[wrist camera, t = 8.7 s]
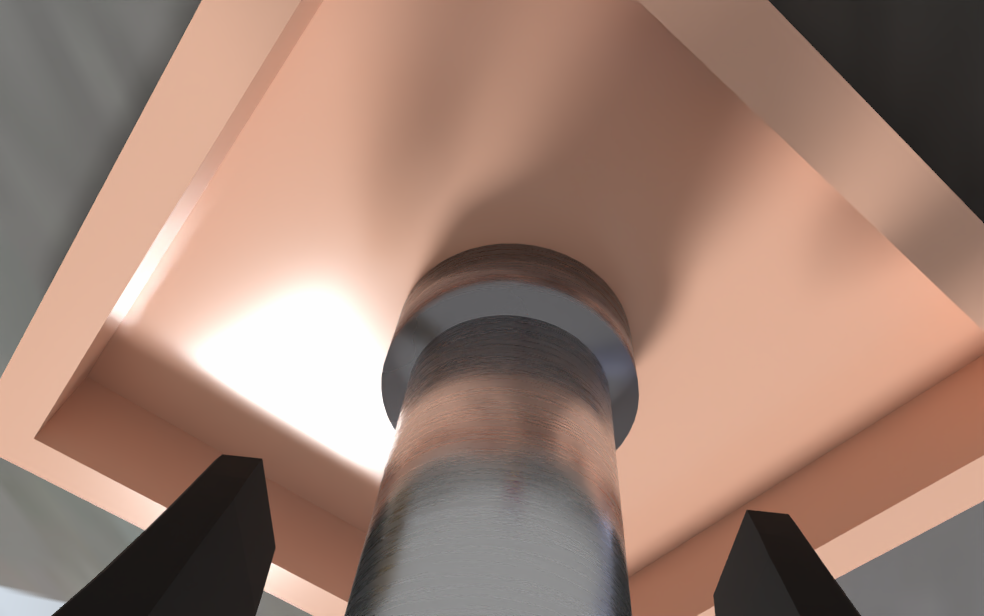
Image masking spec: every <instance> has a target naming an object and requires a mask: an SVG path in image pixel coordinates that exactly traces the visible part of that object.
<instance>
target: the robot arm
mask: <svg viewBox="0 0 984 616" xmlns="http://www.w3.org/2000/svg"><path fill="white" fill-rule="evenodd" d="M275 549H276V546H275V539H274V532H273V526H272V519H271V512H270V506H269V499H268V493H267V486H266V479H265V473H264V466H263V459H262V458H252V457H243V456H233V455H224V454H222V455H221V456H219V457H218V458H217V459H216V460H215V461H214V462H213V463H212V464H211V465H210V466H209V467H208V468H207V469H206V470H205V471H204V472H203V473H202V474H201V475H200V476H199V477H198V478H197V479H196V480H195V481H194V482H193V483H192V484H191V485H190V486H189V487H188V488H187V489H186V490H185V491H184V492H183V493H182V494H181V495H180V496H179V497H178V498H177V499H176V500H175V501H174V502H173V503H172V504H171V505H170V506H169V507H168V508H167V509H166V510H165V511H164V512H163V513H162V514H161V515H160V516H159V517H158V518H157V519H156V520H155V521H154V522H153V523H152V524H151V525H150V526H149V527H148V528H147V529H146V530H145V531H144V532H143V533H142V534H141V535H140V536H139V537H137V538H136V539H135V540H134V541H133V542H132V543H131V544H130V545H129V546H128V547H127V548H126V549H125V550H124V551H123V552H122V553H121V554H120V555H118V556H117V557H116V558H115V559H114V560H113V561H112V562H111V563H110V564H109V565H108V566H107V567H106V568H105V569H104V570H103V571H101V572H100V573H99V574H98V575H97V576H96V577H95V578H94V579H93V580H92V581H91V582H89V583H88V584H87V585H86V586H85V587H84V588H83V589H81V590H80V591H79V592H78V593H77V594H76V595H75V596H73V597H72V598H71V599H70V600H69V601H68V602H67V603H65V604H64V605H63V606H62V607H61V608H60V609H59V610H58V611H56V612H55V613H54V614H53V615H52V616H255V615H256V612H257V609H258V606H259V603H260V599H261V596H262V593H263V590H264V587H265V583H266V580H267V576H268V573H269V570H270V566H271V563H272V559H273V556H274V552H275ZM713 598H714V608H715V616H861V615H860V614H859V612H858V611H857V610H856V608H855V607H854V605H853V604H852V603H851V601H850V600H849V598H848V597H847V596H846V594H845V593H844V591H843V590H842V589H841V587H840V586H839V584H838V583H837V582H836V580H835V579H834V577H833V576H832V575H831V573H830V572H829V570H828V569H827V567H826V566H825V565H824V563H823V562H822V560H821V559H820V557H819V556H818V555H817V553H816V552H815V550H814V549H813V547H812V546H811V545H810V543H809V542H808V540H807V539H806V537H805V536H804V535H803V533H802V532H801V530H800V529H799V527H798V526H797V525H796V523H795V522H794V520H793V519H792V518H791V517H790V515H789V514H783V513H774V512H764V511H755V510H746V513H745V515H744V518H743V520H742V523H741V525H740V528H739V530H738V533H737V536H736V538H735V541H734V543H733V546H732V548H731V551H730V553H729V556H728V559H727V561H726V564H725V566H724V569H723V571H722V574H721V576H720V579H719V582H718V584H717V587H716V589H715V592H714V594H713Z"/></svg>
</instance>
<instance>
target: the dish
mask: <svg viewBox="0 0 984 616" xmlns="http://www.w3.org/2000/svg"><path fill="white" fill-rule="evenodd" d="M494 244H526V245H534V246H539V247H543V248H547V249H551V250H554V251H557V252H560V253H562V254H565V255H567V256H569V257H571V258H573V259H575V260H577V261H579V262H581V263H582V264H584V265H585V266H587V267H588V268H590V269H591V270H593V271H594V272H595V273H596V274H597V275H598V276H600V277H601V278H602V279H603V280H604V281H605V282H606V283H607V284H608V286H609V287H610V288H611V289H612V290H613V292H614V293H615V294H616V296H617V298H618V299H619V301H620V303H621V304H622V306H623V309H624V311H625V314H626V316H627V319H628V323H629V327H630V333H631V339H632V346H633V352H634V359H635V365H636V372H637V378H638V387H639V402H638V410H637V414H636V417H635V421H634V423H633V425H632V428H631V430H630V432H629V434H628V435H627V437H626V438H625V440H624V442H623V443H622V444H621V446H620V447H619V448H618V449H617V450H616V459H617V469H618V479H619V489H620V499H621V509H622V519H623V529H624V539H625V549H626V559H627V570H628V580H629V590H630V600H631V610H632V616H715V608H714V598H713V594H714V592H715V589H716V587H717V584H718V582H719V579H720V576H721V574H722V571H723V569H724V566H725V564H726V561H727V559H728V556H729V553H730V551H731V548H732V546H733V543H734V541H735V538H736V536H737V533H738V530H739V528H740V525H741V523H742V520H743V518H744V515H745V513H746V510H755V511H764V512H774V513H783V514H789V515H790V517H791V518H792V519H793V520H794V522H795V523H796V525H797V526H798V527H799V529H800V530H801V532H802V533H803V535H804V536H805V537H806V539H807V540H808V542H809V543H810V545H811V546H812V547H813V549H814V550H815V552H816V553H817V555H818V556H819V557H820V559H821V560H822V562H823V563H824V565H825V566H826V567H827V569H828V570H829V572H830V573H831V575H832V576H833V577H834V579H836V578H838V577H840V576H842V575H844V574H846V573H847V572H849V571H851V570H853V569H855V568H857V567H859V566H861V565H863V564H865V563H866V562H868V561H870V560H872V559H874V558H876V557H878V556H880V555H882V554H883V553H885V552H887V551H889V550H891V549H893V548H895V547H897V546H899V545H901V544H902V543H904V542H906V541H908V540H910V539H912V538H914V537H916V536H918V535H919V534H921V533H923V532H925V531H927V530H929V529H931V528H933V527H935V526H937V525H938V524H940V523H942V522H944V521H946V520H948V519H950V518H952V517H954V516H955V515H957V514H959V513H961V512H963V511H965V510H967V509H969V508H971V507H973V506H974V505H976V504H978V503H980V502H982V501H984V223H983V222H982V221H981V220H980V219H979V218H978V217H977V216H976V215H975V214H974V213H973V212H972V211H971V210H970V209H969V208H968V206H967V205H966V204H965V203H964V202H963V201H962V200H961V199H960V198H959V197H958V196H957V195H956V194H955V193H954V192H953V191H952V190H951V189H950V188H949V187H948V186H947V185H946V184H945V183H944V182H943V181H942V180H941V179H940V178H939V176H938V175H937V174H936V173H935V172H934V171H933V170H932V169H931V168H930V167H929V166H928V165H927V164H926V163H925V162H924V161H923V160H922V159H921V158H920V157H919V156H918V155H917V154H916V153H915V152H914V151H913V150H912V149H911V148H910V147H909V145H908V144H907V143H906V142H905V141H904V140H903V139H902V138H901V137H900V136H899V135H898V134H897V133H896V132H895V131H894V130H893V129H892V128H891V127H890V126H889V125H888V124H887V123H886V122H885V121H884V120H883V119H882V118H881V117H880V115H879V114H878V113H877V112H876V111H875V110H874V109H873V108H872V107H871V106H870V105H869V104H868V103H867V102H866V101H865V100H864V99H863V98H862V97H861V96H860V95H859V94H858V93H857V92H856V91H855V90H854V89H853V88H852V87H851V85H850V84H849V83H848V82H847V81H846V80H845V79H844V78H843V77H842V76H841V75H840V74H839V73H838V72H837V71H836V70H835V69H834V68H833V67H832V66H831V65H830V64H829V63H828V62H827V61H826V60H825V59H824V58H823V57H822V55H821V54H820V53H819V52H818V51H817V50H816V49H815V48H814V47H813V46H812V45H811V44H810V43H809V42H808V41H807V40H806V39H805V38H804V37H803V36H802V35H801V34H800V33H799V32H798V31H797V30H796V29H795V28H794V27H793V25H792V24H791V23H790V22H789V21H788V20H787V19H786V18H785V17H784V16H783V15H782V14H781V13H780V12H779V11H778V10H777V9H776V8H775V7H774V6H773V5H772V4H771V3H770V2H769V1H768V0H202V1H201V3H200V5H199V7H198V9H197V10H196V12H195V14H194V16H193V18H192V20H191V22H190V24H189V25H188V27H187V29H186V31H185V33H184V35H183V37H182V39H181V40H180V42H179V44H178V46H177V48H176V50H175V52H174V54H173V56H172V57H171V59H170V61H169V63H168V65H167V67H166V69H165V71H164V72H163V74H162V76H161V78H160V80H159V82H158V84H157V86H156V87H155V89H154V91H153V93H152V95H151V97H150V99H149V101H148V102H147V104H146V106H145V108H144V110H143V112H142V114H141V116H140V118H139V119H138V121H137V123H136V125H135V127H134V129H133V131H132V133H131V134H130V136H129V138H128V140H127V142H126V144H125V146H124V148H123V149H122V151H121V153H120V155H119V157H118V159H117V161H116V163H115V164H114V166H113V168H112V170H111V172H110V174H109V176H108V178H107V180H106V181H105V183H104V185H103V187H102V189H101V191H100V193H99V195H98V196H97V198H96V200H95V202H94V204H93V206H92V208H91V210H90V211H89V213H88V215H87V217H86V219H85V221H84V223H83V225H82V226H81V228H80V230H79V232H78V234H77V236H76V238H75V240H74V241H73V243H72V245H71V247H70V249H69V251H68V253H67V255H66V257H65V258H64V260H63V262H62V264H61V266H60V268H59V270H58V272H57V273H56V275H55V277H54V279H53V281H52V283H51V285H50V287H49V288H48V290H47V292H46V294H45V296H44V298H43V300H42V302H41V303H40V305H39V307H38V309H37V311H36V313H35V315H34V317H33V319H32V320H31V322H30V324H29V326H28V328H27V330H26V332H25V334H24V335H23V337H22V339H21V341H20V343H19V345H18V347H17V349H16V350H15V352H14V354H13V356H12V358H11V360H10V362H9V364H8V365H7V367H6V369H5V371H4V373H3V375H2V377H1V379H0V457H1V458H3V459H5V460H7V461H9V462H11V463H13V464H15V465H17V466H19V467H21V468H23V469H25V470H27V471H29V472H31V473H33V474H35V475H37V476H39V477H41V478H43V479H45V480H47V481H49V482H51V483H53V484H55V485H57V486H59V487H60V488H62V489H64V490H66V491H68V492H70V493H72V494H74V495H76V496H78V497H80V498H82V499H84V500H86V501H88V502H90V503H92V504H94V505H96V506H98V507H100V508H102V509H104V510H106V511H108V512H110V513H112V514H114V515H116V516H118V517H120V518H122V519H124V520H126V521H128V522H130V523H132V524H134V525H136V526H138V527H139V528H141V529H143V530H146V529H147V528H148V527H149V526H150V525H151V524H152V523H153V522H154V521H155V520H156V519H157V518H158V517H159V516H160V515H161V514H162V513H163V512H164V511H165V510H166V509H167V508H168V507H169V506H170V505H171V504H172V503H173V502H174V501H175V500H176V499H177V498H178V497H179V496H180V495H181V494H182V493H183V492H184V491H185V490H186V489H187V488H188V487H189V486H190V485H191V484H192V483H193V482H194V481H195V480H196V479H197V478H198V477H199V476H200V475H201V474H202V473H203V472H204V471H205V470H206V469H207V468H208V467H209V466H210V465H211V464H212V463H213V462H214V461H215V460H216V459H217V458H218V457H219V456H221V455H222V454H224V455H233V456H243V457H252V458H262V459H263V466H264V473H265V479H266V486H267V493H268V499H269V506H270V512H271V519H272V526H273V532H274V539H275V546H276V549H275V552H274V556H273V559H272V563H271V566H270V570H269V573H268V576H267V580H266V583H265V587H264V591H266V592H268V593H270V594H272V595H274V596H276V597H278V598H280V599H282V600H284V601H286V602H288V603H290V604H292V605H294V606H296V607H298V608H299V609H301V610H303V611H305V612H307V613H309V614H311V615H313V616H344V615H345V612H346V608H347V604H348V601H349V597H350V593H351V590H352V586H353V582H354V579H355V575H356V571H357V568H358V564H359V560H360V557H361V553H362V550H363V546H364V542H365V539H366V535H367V531H368V528H369V524H370V520H371V517H372V513H373V509H374V506H375V502H376V498H377V495H378V491H379V488H380V484H381V480H382V477H383V473H384V469H385V466H386V462H387V458H388V455H389V451H390V447H391V444H392V440H393V436H394V433H395V430H394V428H393V427H392V425H391V423H390V421H389V419H388V417H387V414H386V411H385V408H384V405H383V399H382V393H381V376H382V371H383V365H384V362H385V359H386V356H387V353H388V350H389V347H390V344H391V341H392V338H393V335H394V332H395V329H396V326H397V323H398V320H399V317H400V314H401V311H402V308H403V305H404V303H405V301H406V299H407V297H408V295H409V294H410V292H411V290H412V289H413V288H414V286H415V285H416V284H417V283H418V281H419V280H420V279H421V278H422V277H423V276H424V275H425V274H426V273H427V272H428V271H430V270H431V269H432V268H434V267H435V266H436V265H438V264H439V263H441V262H442V261H444V260H446V259H448V258H450V257H452V256H454V255H456V254H458V253H461V252H464V251H466V250H469V249H473V248H477V247H481V246H486V245H494Z"/></svg>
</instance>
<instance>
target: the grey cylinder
mask: <svg viewBox="0 0 984 616" xmlns="http://www.w3.org/2000/svg"><path fill="white" fill-rule="evenodd" d="M381 393H382V399H383V405H384V408H385V411H386V414H387V417H388V419H389V421H390V423H391V425H392V427H393V428H394V430H395V433H394V436H393V440H392V444H391V447H390V451H389V455H388V458H387V462H386V466H385V469H384V473H383V477H382V480H381V484H380V488H379V491H378V495H377V498H376V502H375V506H374V509H373V513H372V517H371V520H370V524H369V528H368V531H367V535H366V539H365V542H364V546H363V550H362V553H361V557H360V560H359V564H358V568H357V571H356V575H355V579H354V582H353V586H352V590H351V593H350V597H349V601H348V604H347V608H346V612H345V615H344V616H632V610H631V600H630V590H629V580H628V570H627V559H626V549H625V539H624V529H623V519H622V509H621V499H620V489H619V479H618V469H617V459H616V450H617V449H618V448H619V447H620V446H621V444H622V443H623V442H624V440H625V438H626V437H627V435H628V434H629V432H630V430H631V428H632V425H633V423H634V421H635V417H636V414H637V410H638V402H639V387H638V378H637V372H636V365H635V359H634V352H633V346H632V339H631V333H630V327H629V323H628V319H627V316H626V314H625V311H624V309H623V306H622V304H621V303H620V301H619V299H618V298H617V296H616V294H615V293H614V292H613V290H612V289H611V288H610V287H609V286H608V284H607V283H606V282H605V281H604V280H603V279H602V278H601V277H600V276H598V275H597V274H596V273H595V272H594V271H593V270H591V269H590V268H588V267H587V266H585V265H584V264H582V263H581V262H579V261H577V260H575V259H573V258H571V257H569V256H567V255H565V254H562V253H560V252H557V251H554V250H551V249H547V248H543V247H539V246H534V245H526V244H494V245H486V246H481V247H477V248H473V249H469V250H466V251H464V252H461V253H458V254H456V255H454V256H452V257H450V258H448V259H446V260H444V261H442V262H441V263H439V264H438V265H436V266H435V267H434V268H432V269H431V270H430V271H428V272H427V273H426V274H425V275H424V276H423V277H422V278H421V279H420V280H419V281H418V283H417V284H416V285H415V286H414V288H413V289H412V290H411V292H410V294H409V295H408V297H407V299H406V301H405V303H404V305H403V308H402V311H401V314H400V317H399V320H398V323H397V326H396V329H395V332H394V335H393V338H392V341H391V344H390V347H389V350H388V353H387V356H386V359H385V362H384V365H383V371H382V376H381Z"/></svg>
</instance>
